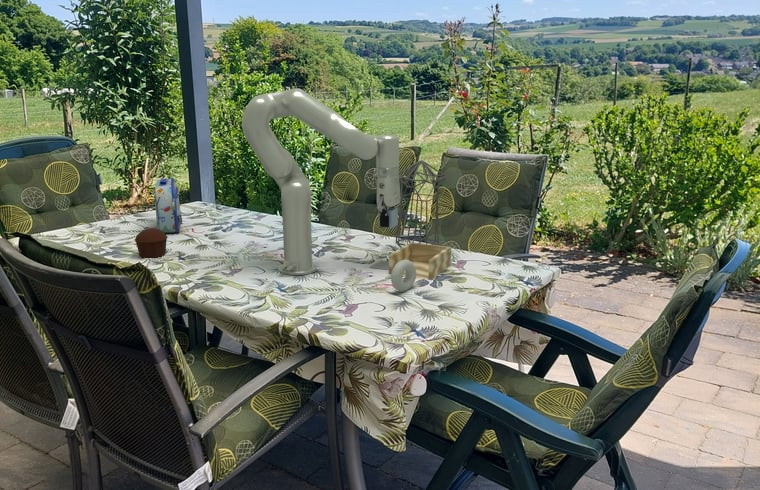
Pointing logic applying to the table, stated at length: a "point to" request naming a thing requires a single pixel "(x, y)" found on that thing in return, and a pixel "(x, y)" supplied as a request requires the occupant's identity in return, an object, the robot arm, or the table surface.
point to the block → (390, 217)
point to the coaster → (381, 265)
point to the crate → (423, 259)
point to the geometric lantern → (433, 181)
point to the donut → (398, 272)
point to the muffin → (151, 243)
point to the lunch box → (167, 206)
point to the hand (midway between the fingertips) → (387, 224)
